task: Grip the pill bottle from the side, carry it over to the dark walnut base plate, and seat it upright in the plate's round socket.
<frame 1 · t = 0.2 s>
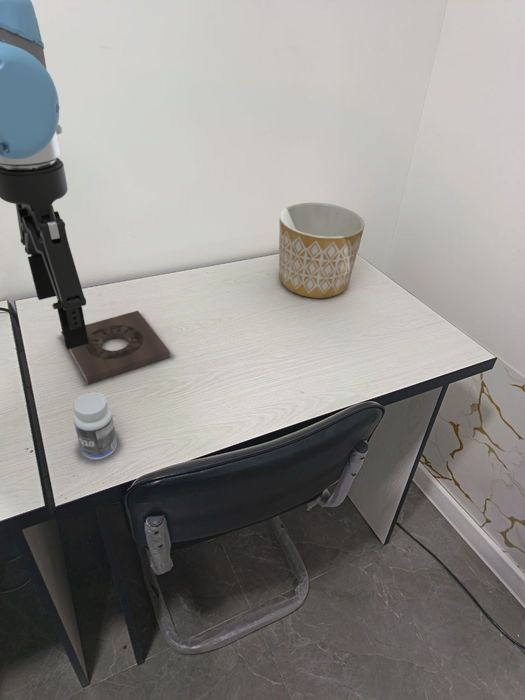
hand: (61, 319, 68), 21 cm above the table, tool pointing down, fingers open, 13 cm apart
pill bottle: (99, 447, 78), on the table
planter: (313, 282, 122), on the table
socket plate: (115, 347, 97), on the table
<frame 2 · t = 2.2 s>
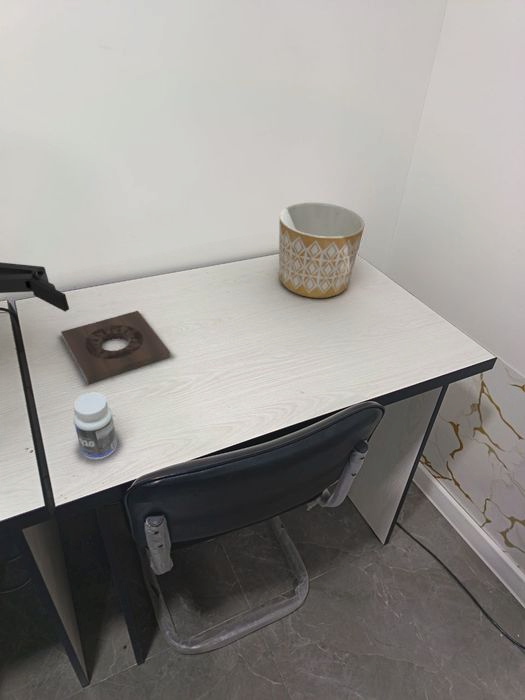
hand: (26, 329, 66), 21 cm above the table, tool horizontal, fingers open, 13 cm apart
nothing on the table moved.
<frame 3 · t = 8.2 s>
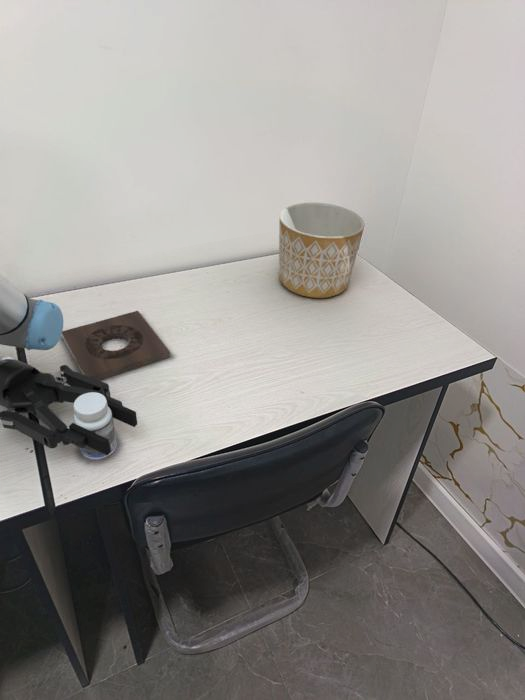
hand: (121, 432, 72), 6 cm above the table, tool horizontal, fingers closed on pill bottle, 5 cm apart
pill bottle: (99, 447, 78), on the table, touching gripper
everything else where it was.
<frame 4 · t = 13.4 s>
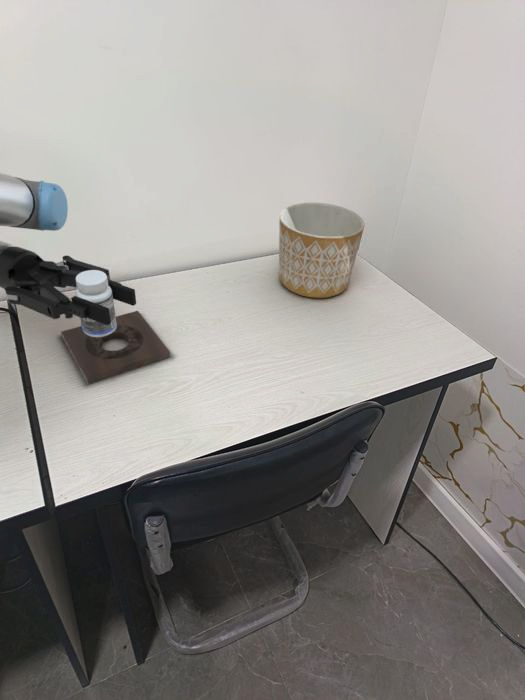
hand: (121, 306, 76), 18 cm above the table, tool horizontal, fingers closed on pill bottle, 5 cm apart
pill bottle: (100, 329, 82), point 12 cm above the table, touching gripper
everything else where it was.
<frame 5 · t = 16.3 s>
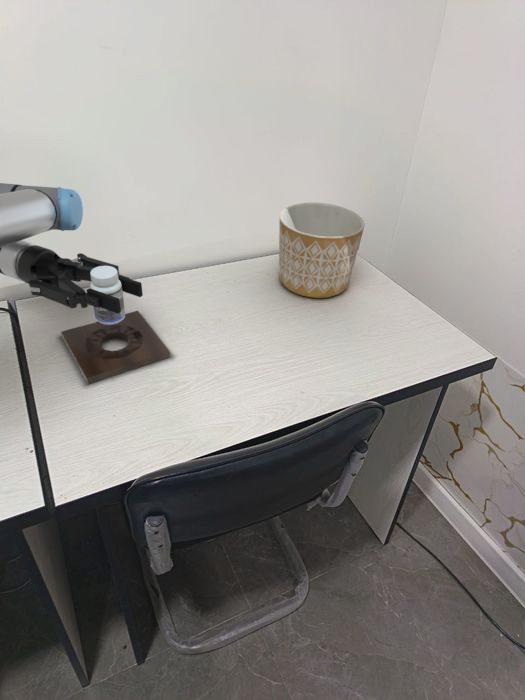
hand: (129, 297, 88), 13 cm above the table, tool horizontal, fingers closed on pill bottle, 5 cm apart
pill bottle: (110, 317, 93), point 7 cm above the table, touching gripper
everything else where it was.
when the fingers open (6 cm above the table, at t = 18.5 s): pill bottle stays where it is, resting in socket plate.
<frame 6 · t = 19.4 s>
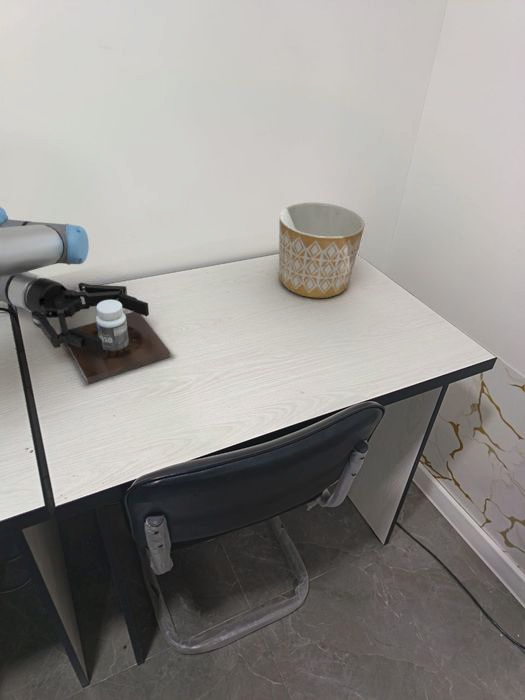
hand: (125, 327, 93), 6 cm above the table, tool horizontal, fingers open, 13 cm apart
pill bottle: (115, 348, 98), resting in socket plate
everything else where it was.
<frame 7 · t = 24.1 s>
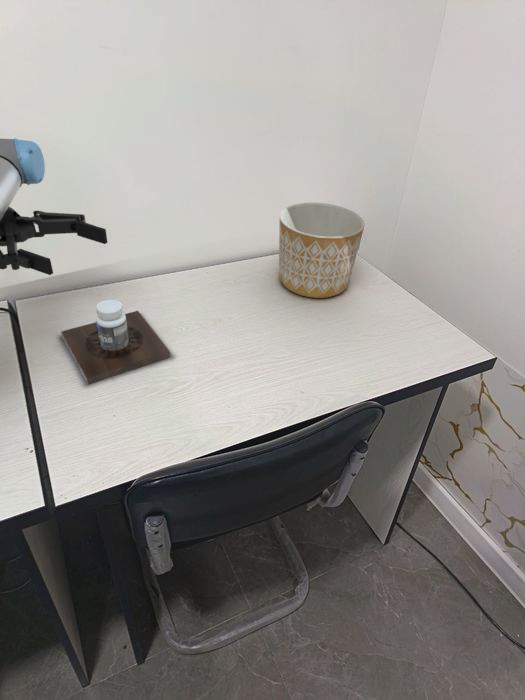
hand: (79, 251, 86), 20 cm above the table, tool horizontal, fingers open, 13 cm apart
nothing on the table moved.
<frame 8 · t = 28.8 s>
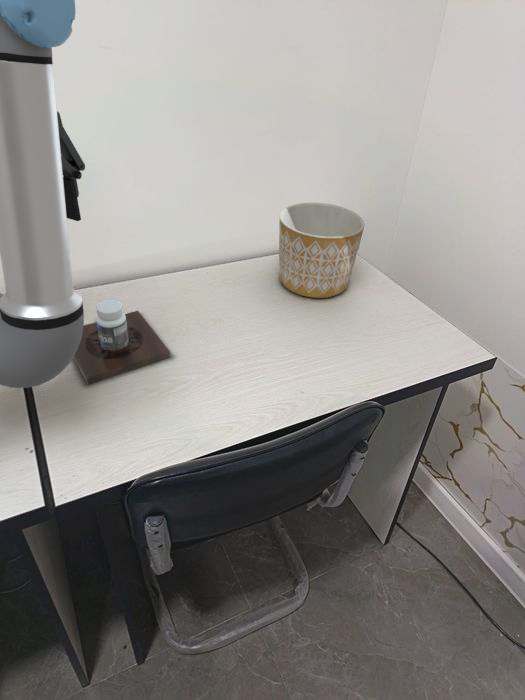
hand: (41, 234, 75), 27 cm above the table, tool pointing down, fingers open, 13 cm apart
nothing on the table moved.
at the end: pill bottle 0.0 cm off-centre in the socket plate, point 0.0 cm above the socket plate's base; pill bottle tilted 0°; the gripper is holding nothing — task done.
